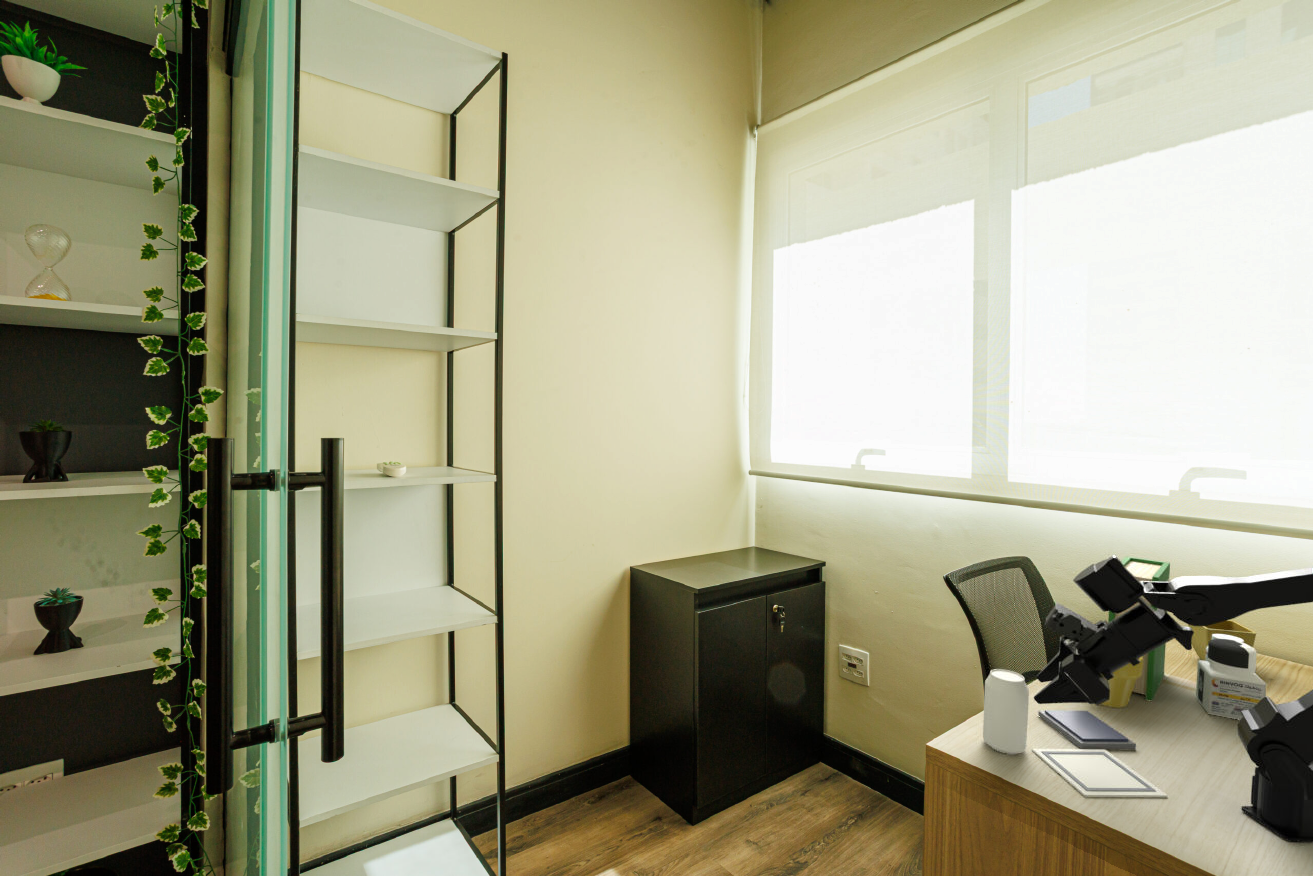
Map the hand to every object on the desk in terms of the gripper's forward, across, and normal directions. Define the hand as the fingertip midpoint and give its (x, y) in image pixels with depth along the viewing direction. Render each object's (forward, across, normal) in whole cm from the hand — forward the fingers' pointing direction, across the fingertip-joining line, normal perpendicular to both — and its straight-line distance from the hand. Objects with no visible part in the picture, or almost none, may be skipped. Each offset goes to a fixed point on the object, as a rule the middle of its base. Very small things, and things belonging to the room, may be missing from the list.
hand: (1037, 689), depth 98 cm
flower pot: (-15, -68, +30) cm, 76 cm away
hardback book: (-4, -45, +19) cm, 49 cm away
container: (-13, -39, +28) cm, 50 cm away
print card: (+2, 0, +13) cm, 13 cm away
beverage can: (+11, 0, +5) cm, 12 cm away
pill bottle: (-14, -50, +29) cm, 59 cm away
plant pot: (0, -31, +15) cm, 35 cm away
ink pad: (+3, -14, +12) cm, 19 cm away
